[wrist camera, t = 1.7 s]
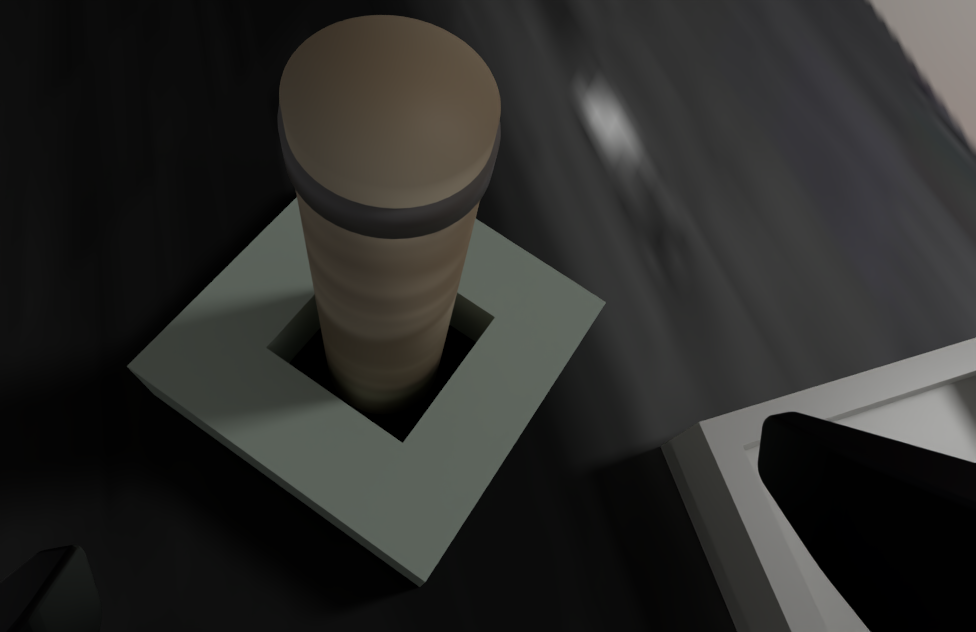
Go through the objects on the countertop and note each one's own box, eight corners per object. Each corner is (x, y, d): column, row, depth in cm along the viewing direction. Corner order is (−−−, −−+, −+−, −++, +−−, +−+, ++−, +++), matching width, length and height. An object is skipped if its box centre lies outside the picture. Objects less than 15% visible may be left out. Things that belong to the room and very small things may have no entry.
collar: (419, 586, 20) (425, 581, 17) (153, 394, 21) (126, 366, 19) (584, 332, 24) (606, 302, 22) (355, 183, 25) (353, 140, 23)
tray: (1227, 750, 21) (1351, 768, 19) (872, 957, 18) (961, 1018, 15) (977, 348, 26) (1046, 316, 23) (660, 446, 23) (698, 422, 20)
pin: (396, 440, 21) (420, 235, 10) (300, 373, 22) (220, 105, 11) (462, 350, 23) (548, 86, 12) (372, 289, 23) (369, -22, 12)
